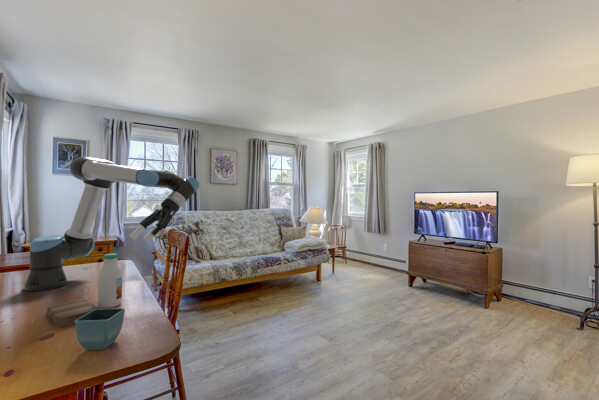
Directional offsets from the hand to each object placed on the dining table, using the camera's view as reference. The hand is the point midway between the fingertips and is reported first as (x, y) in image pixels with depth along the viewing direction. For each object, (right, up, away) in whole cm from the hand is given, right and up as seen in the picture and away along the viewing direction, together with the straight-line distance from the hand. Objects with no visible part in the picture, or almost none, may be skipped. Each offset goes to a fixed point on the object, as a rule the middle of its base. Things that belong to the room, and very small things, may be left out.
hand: (138, 239), depth 119 cm
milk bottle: (-6, -25, -9) cm, 27 cm away
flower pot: (+12, -25, -39) cm, 48 cm away
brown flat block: (-12, -24, -19) cm, 33 cm away
